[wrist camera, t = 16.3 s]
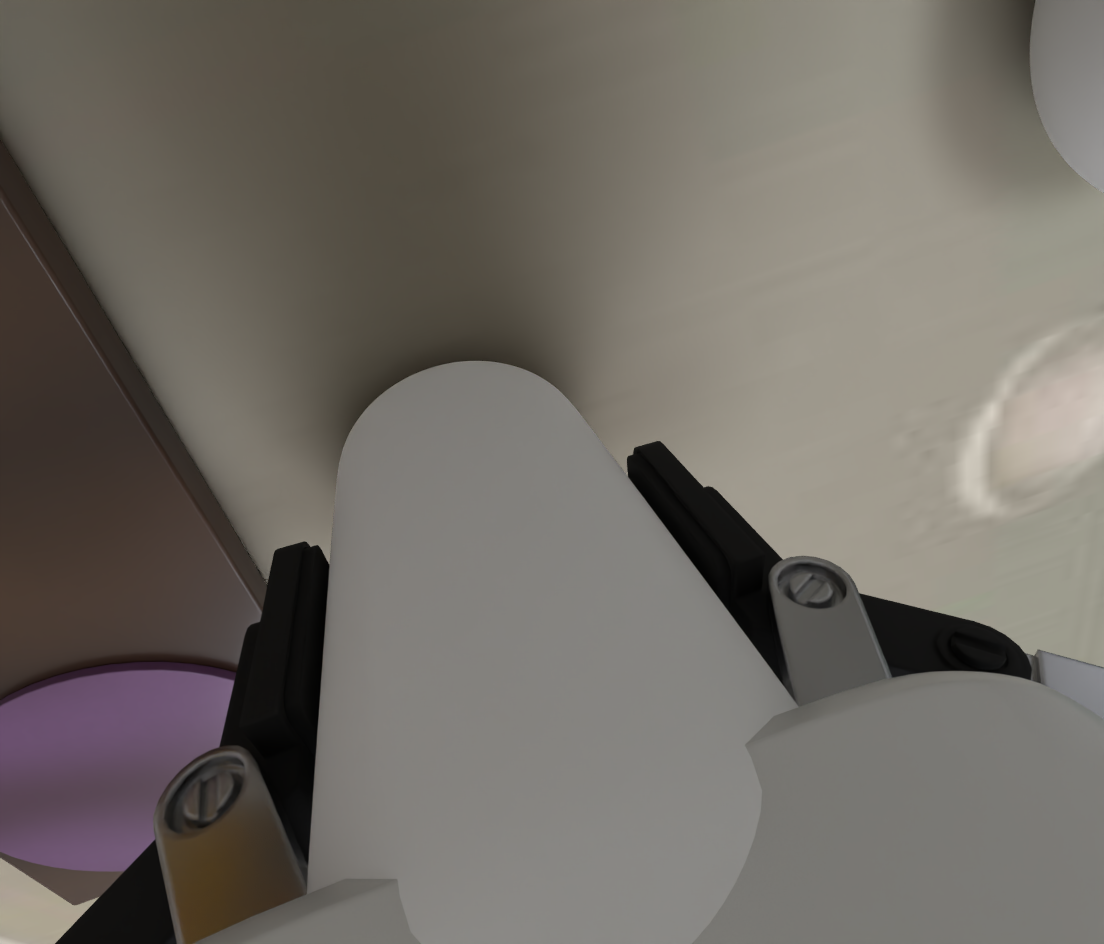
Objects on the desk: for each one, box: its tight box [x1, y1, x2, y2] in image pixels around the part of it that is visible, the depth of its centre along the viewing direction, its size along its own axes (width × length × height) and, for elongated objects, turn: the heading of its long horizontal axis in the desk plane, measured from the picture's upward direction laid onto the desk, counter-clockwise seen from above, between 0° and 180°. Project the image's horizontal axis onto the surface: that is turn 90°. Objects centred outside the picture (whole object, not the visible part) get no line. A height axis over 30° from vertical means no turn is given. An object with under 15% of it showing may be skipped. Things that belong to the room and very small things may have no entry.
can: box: [307, 361, 799, 944], centre depth 10 cm, size 6×6×12 cm
